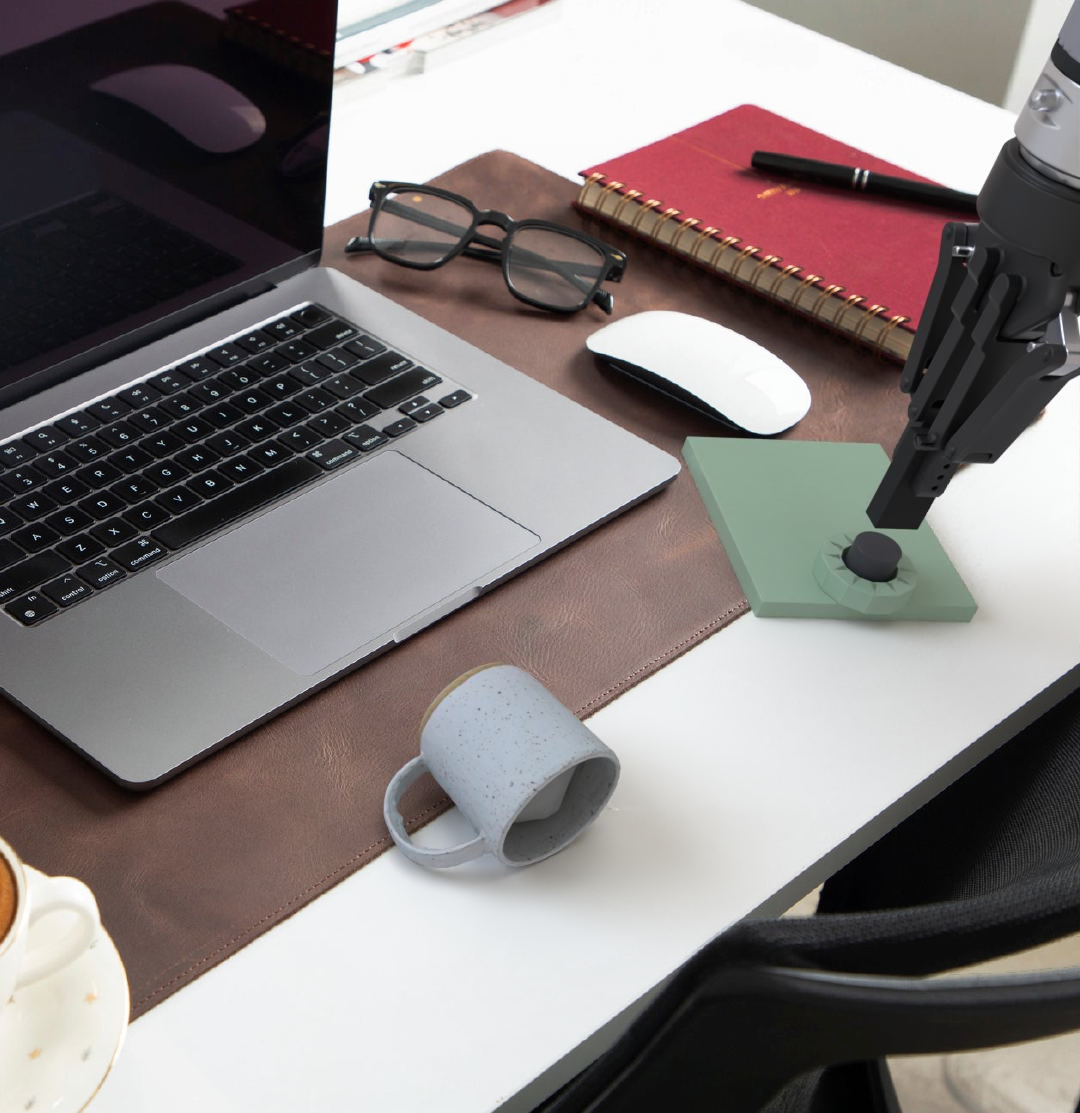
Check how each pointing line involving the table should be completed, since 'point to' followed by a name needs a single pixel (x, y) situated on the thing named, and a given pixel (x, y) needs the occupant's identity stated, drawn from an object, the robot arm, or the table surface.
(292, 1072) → the table surface
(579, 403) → the table surface
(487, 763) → the ceramic mug
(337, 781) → the table surface
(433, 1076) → the table surface
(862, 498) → the scale
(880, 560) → the button
